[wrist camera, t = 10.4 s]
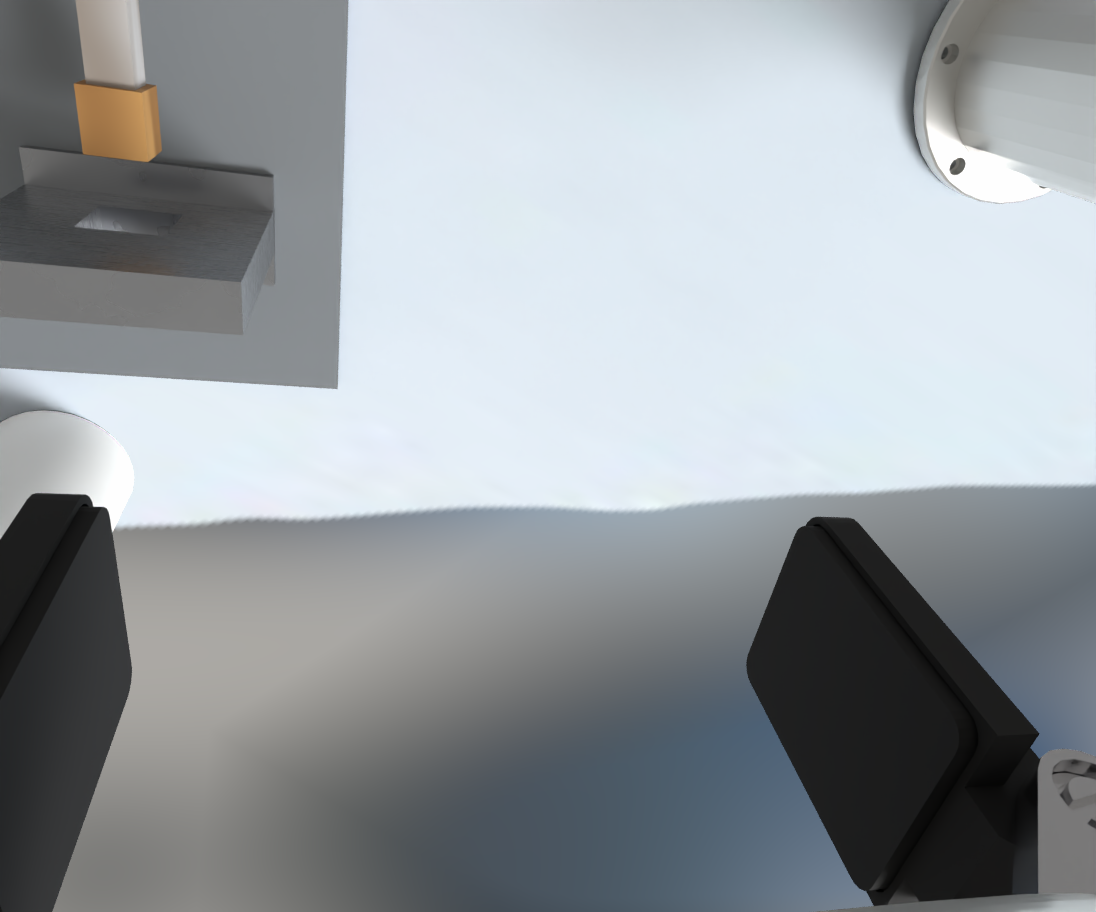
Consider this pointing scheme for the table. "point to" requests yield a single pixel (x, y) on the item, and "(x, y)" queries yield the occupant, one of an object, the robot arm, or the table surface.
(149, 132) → the tan wooden mallet shape
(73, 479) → the cylindrical container
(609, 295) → the table surface
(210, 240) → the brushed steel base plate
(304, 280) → the mat
